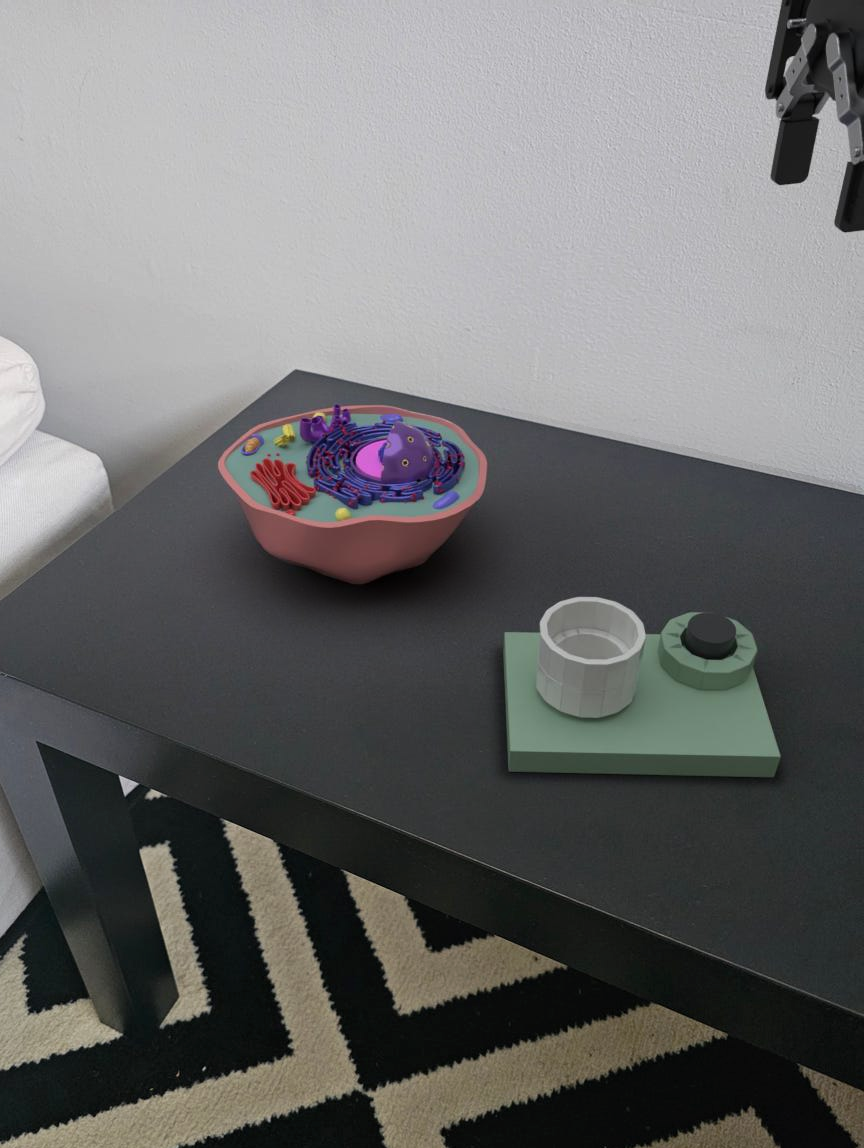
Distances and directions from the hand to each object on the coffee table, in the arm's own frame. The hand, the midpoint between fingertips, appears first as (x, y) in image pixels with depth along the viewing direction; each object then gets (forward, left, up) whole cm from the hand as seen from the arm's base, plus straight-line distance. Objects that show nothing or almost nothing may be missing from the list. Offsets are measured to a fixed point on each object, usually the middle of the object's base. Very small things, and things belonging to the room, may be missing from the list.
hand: (819, 204), depth 63 cm
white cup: (+13, +18, -24) cm, 33 cm away
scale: (+10, +18, -26) cm, 33 cm away
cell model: (+29, +1, -26) cm, 39 cm away
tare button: (+5, +15, -23) cm, 28 cm away
